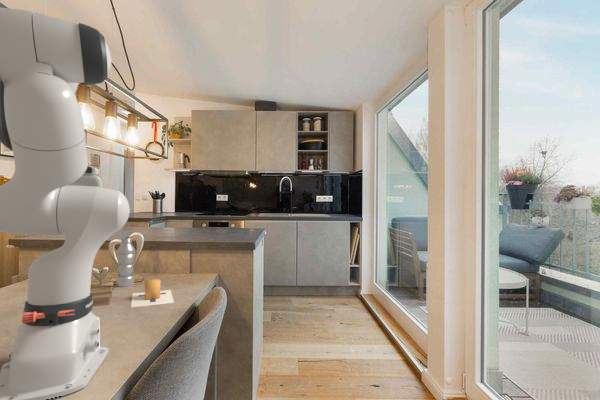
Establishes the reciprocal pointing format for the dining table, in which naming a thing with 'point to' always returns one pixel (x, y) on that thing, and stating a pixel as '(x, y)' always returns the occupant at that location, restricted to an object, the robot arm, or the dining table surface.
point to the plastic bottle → (125, 263)
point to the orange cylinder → (152, 289)
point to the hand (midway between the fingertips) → (63, 213)
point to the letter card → (140, 300)
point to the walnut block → (101, 297)
